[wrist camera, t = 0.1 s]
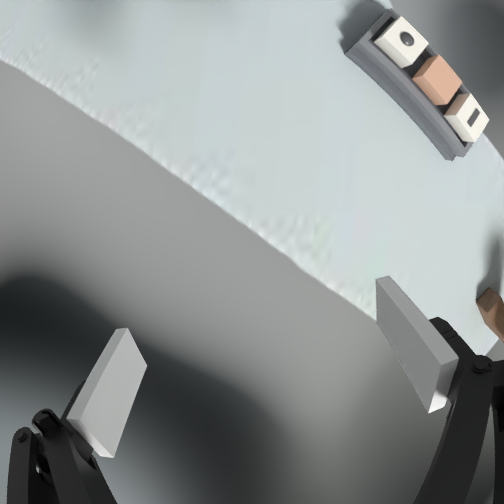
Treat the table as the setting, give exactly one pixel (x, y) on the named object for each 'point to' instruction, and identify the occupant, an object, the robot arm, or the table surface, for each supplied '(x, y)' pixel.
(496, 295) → the wooden block
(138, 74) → the table surface
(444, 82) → the blank key
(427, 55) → the keypad
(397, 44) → the dot key
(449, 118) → the bar key
